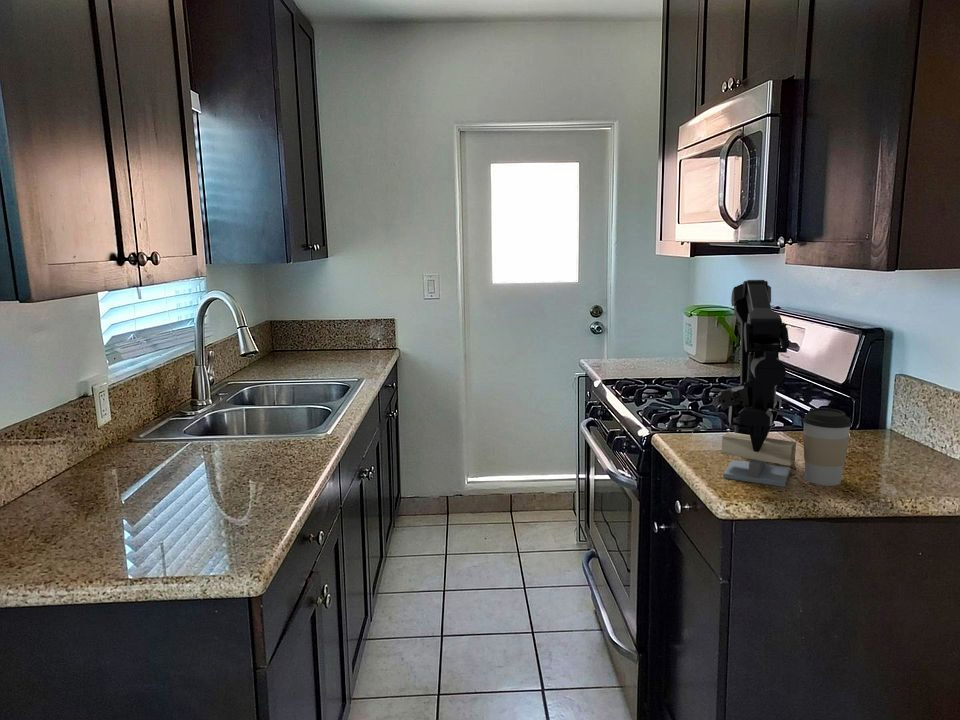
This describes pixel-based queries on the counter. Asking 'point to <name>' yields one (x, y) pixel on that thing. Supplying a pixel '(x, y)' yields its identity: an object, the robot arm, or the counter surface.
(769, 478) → the ridge stand
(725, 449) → the ash bar
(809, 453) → the coffee cup
